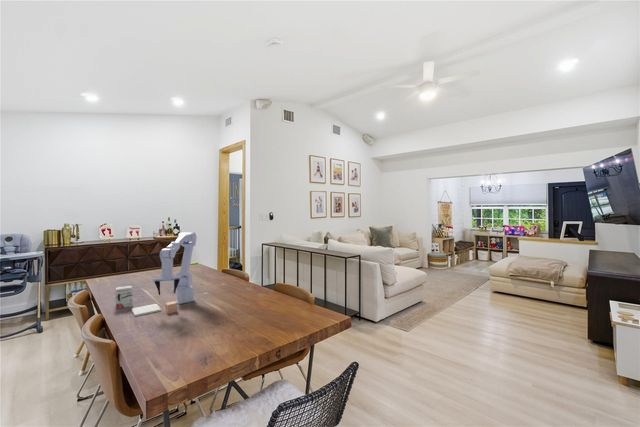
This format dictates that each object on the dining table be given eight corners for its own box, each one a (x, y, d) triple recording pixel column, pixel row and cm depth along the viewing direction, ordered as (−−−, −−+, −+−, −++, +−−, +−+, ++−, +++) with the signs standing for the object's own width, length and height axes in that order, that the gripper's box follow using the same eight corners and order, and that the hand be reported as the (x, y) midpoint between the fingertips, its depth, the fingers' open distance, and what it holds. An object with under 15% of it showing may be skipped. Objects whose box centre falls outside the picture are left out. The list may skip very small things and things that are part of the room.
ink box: (115, 309, 174) (115, 289, 174) (116, 306, 178) (115, 287, 178) (132, 306, 179) (132, 286, 179) (132, 303, 183) (132, 285, 183)
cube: (175, 309, 173) (174, 300, 173) (177, 311, 169) (176, 303, 169) (165, 311, 170) (165, 302, 170) (167, 313, 166) (167, 305, 166)
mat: (156, 305, 180) (156, 303, 180) (161, 311, 170) (161, 309, 170) (131, 310, 172) (131, 308, 172) (134, 316, 162) (134, 314, 162)
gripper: (152, 271, 161) (152, 296, 160) (182, 269, 169) (181, 293, 168) (152, 270, 167) (152, 294, 166) (180, 267, 175) (180, 291, 174)
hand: (167, 293), depth 168 cm, fingers open, 7 cm apart
